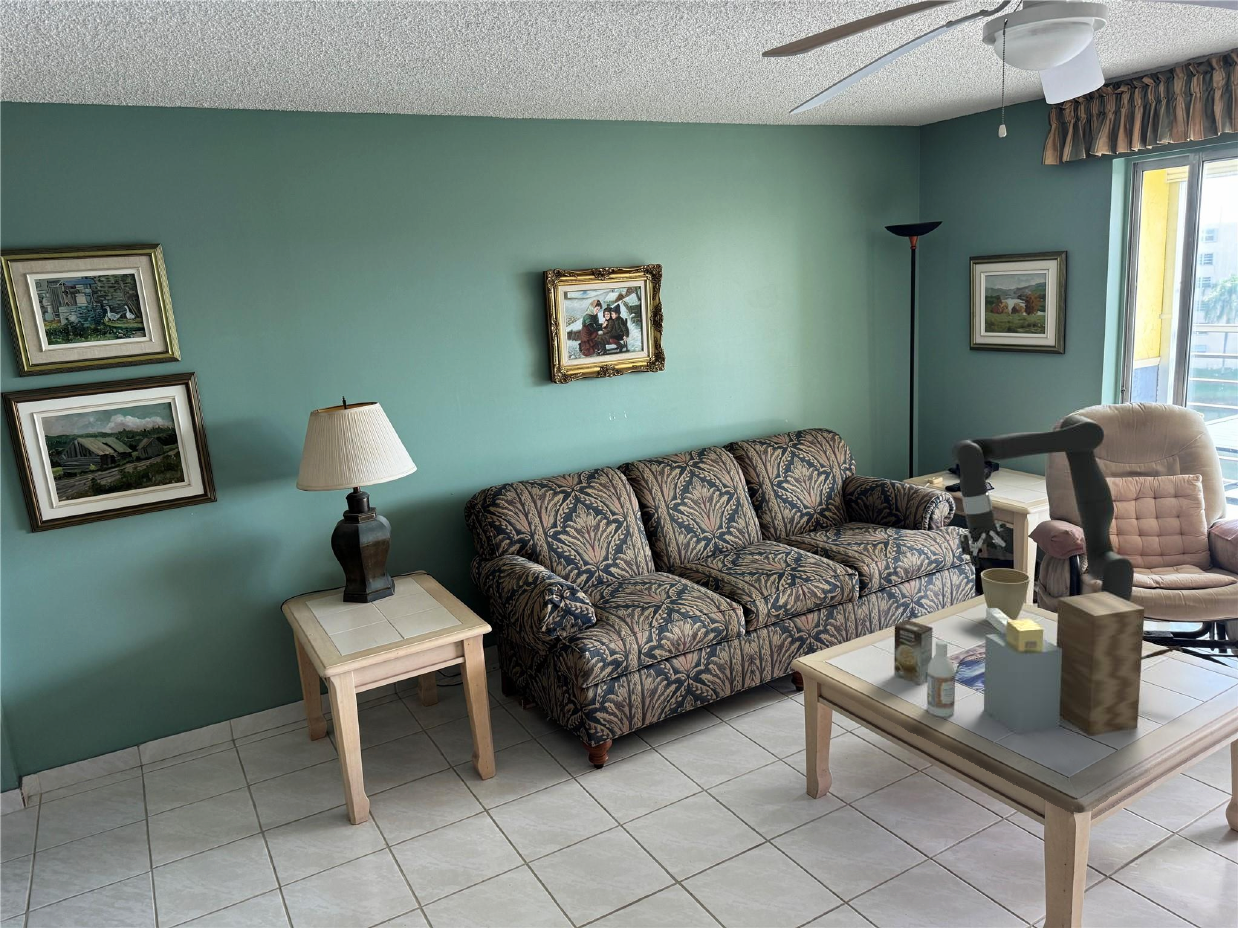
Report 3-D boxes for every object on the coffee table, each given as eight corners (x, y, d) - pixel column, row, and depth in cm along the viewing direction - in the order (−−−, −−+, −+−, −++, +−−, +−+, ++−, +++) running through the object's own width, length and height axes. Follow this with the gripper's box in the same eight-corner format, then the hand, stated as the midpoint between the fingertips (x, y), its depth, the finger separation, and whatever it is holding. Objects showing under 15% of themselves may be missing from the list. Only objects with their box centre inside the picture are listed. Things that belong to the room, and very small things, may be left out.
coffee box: (892, 675, 260) (892, 624, 256) (905, 669, 263) (905, 618, 260) (920, 685, 252) (920, 633, 249) (933, 678, 256) (933, 626, 253)
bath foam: (936, 719, 233) (937, 648, 229) (922, 707, 240) (922, 639, 236) (959, 715, 234) (960, 645, 230) (944, 703, 241) (945, 635, 237)
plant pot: (973, 623, 294) (974, 578, 291) (988, 609, 305) (989, 565, 302) (1020, 632, 284) (1022, 585, 281) (1034, 617, 295) (1035, 572, 292)
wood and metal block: (1002, 617, 243) (1002, 597, 241) (1042, 651, 220) (1043, 629, 219) (980, 619, 243) (981, 598, 241) (1018, 653, 220) (1019, 630, 219)
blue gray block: (1023, 703, 239) (1025, 628, 234) (1058, 727, 225) (1062, 648, 221) (983, 709, 236) (985, 635, 232) (1017, 734, 223) (1019, 655, 219)
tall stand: (1099, 704, 235) (1105, 591, 229) (1137, 727, 223) (1144, 608, 216) (1053, 712, 233) (1058, 598, 226) (1089, 735, 220) (1095, 615, 214)
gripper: (964, 517, 246) (976, 572, 248) (1008, 503, 249) (1019, 558, 251) (949, 514, 254) (960, 567, 255) (991, 501, 256) (1002, 554, 258)
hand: (989, 563), depth 253 cm, fingers open, 8 cm apart
